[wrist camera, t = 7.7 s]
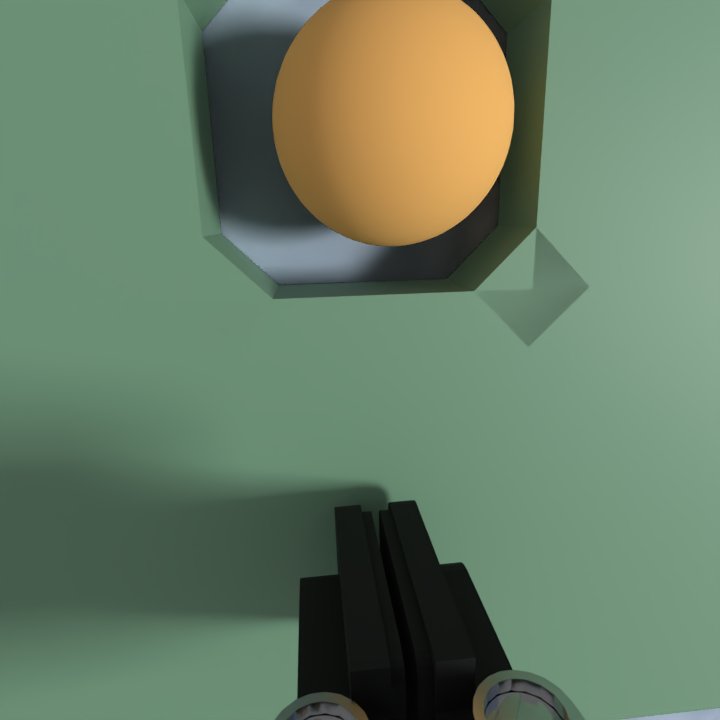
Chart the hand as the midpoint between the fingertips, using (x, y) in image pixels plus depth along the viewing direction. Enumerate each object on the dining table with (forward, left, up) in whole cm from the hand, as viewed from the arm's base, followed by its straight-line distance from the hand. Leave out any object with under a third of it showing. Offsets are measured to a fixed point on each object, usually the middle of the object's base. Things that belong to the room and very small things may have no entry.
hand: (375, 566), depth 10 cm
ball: (+8, -1, -1) cm, 8 cm away
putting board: (+5, 0, -2) cm, 5 cm away
